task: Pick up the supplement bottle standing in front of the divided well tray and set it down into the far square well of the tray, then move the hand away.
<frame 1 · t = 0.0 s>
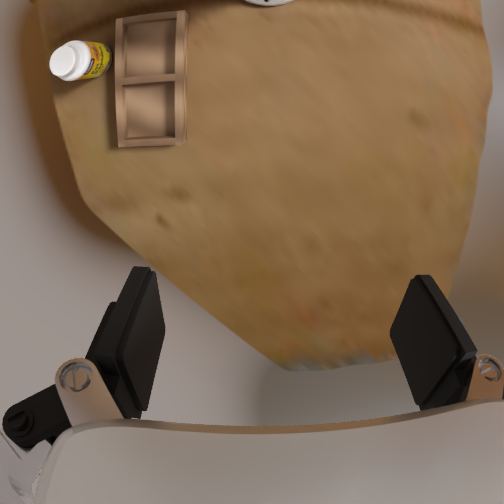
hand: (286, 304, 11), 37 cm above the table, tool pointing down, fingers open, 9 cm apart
supplement bottle: (97, 59, 36), on the table
divided well tray: (153, 78, 38), on the table
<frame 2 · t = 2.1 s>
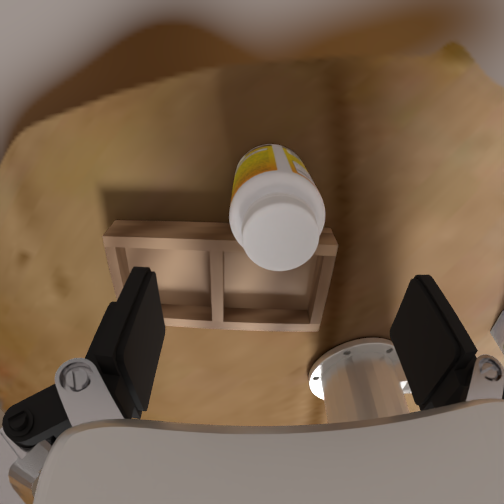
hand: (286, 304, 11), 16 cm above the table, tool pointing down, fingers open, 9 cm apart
supplement bottle: (270, 175, 25), on the table
divided well tray: (219, 269, 29), on the table
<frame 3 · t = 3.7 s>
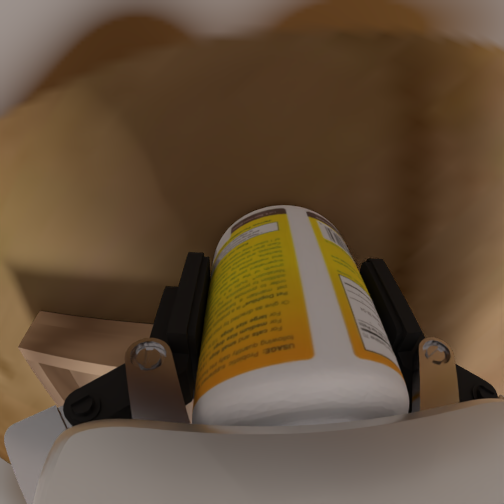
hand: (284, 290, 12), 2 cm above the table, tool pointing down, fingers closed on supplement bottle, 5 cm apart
supplement bottle: (280, 257, 14), on the table, touching gripper
divided well tray: (199, 379, 18), on the table
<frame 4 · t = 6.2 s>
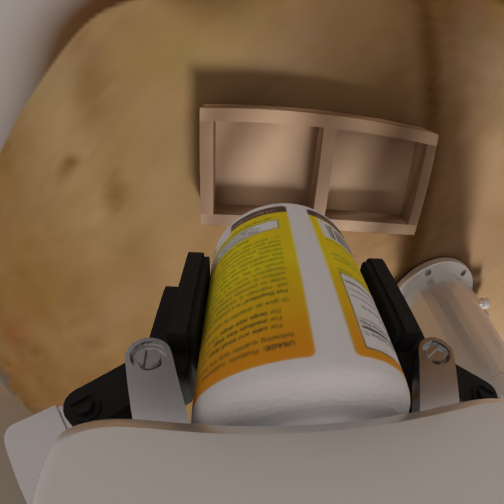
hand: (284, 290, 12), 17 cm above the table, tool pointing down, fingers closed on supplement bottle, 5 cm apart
supplement bottle: (280, 255, 14), point 15 cm above the table, touching gripper
divided well tray: (317, 164, 26), on the table
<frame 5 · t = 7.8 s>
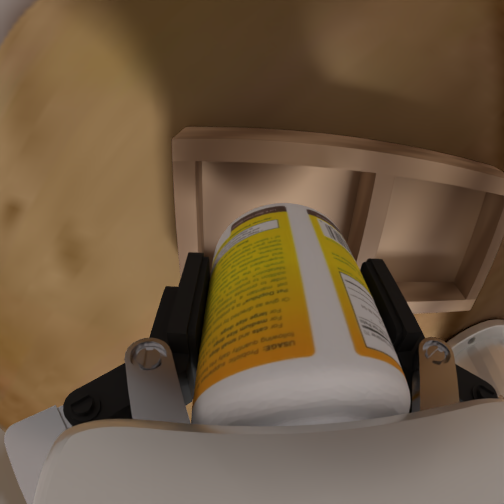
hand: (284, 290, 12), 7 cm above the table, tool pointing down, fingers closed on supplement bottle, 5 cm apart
supplement bottle: (280, 255, 14), point 5 cm above the table, touching gripper
divided well tray: (354, 218, 18), on the table
when the fingers open (4 cm above the table, at t = 8.8 s): supplement bottle drops 1 cm, resting on divided well tray.
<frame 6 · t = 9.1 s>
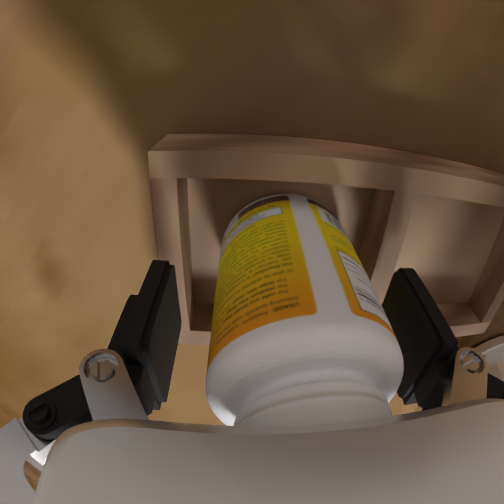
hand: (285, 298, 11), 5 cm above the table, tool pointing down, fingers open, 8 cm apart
supplement bottle: (283, 243, 15), point 1 cm above the table, touching divided well tray
divided well tray: (363, 237, 16), on the table
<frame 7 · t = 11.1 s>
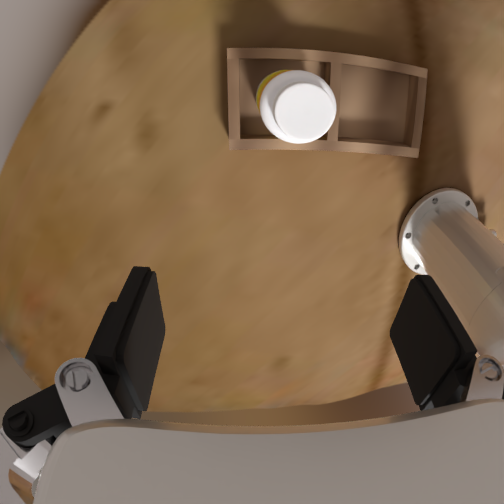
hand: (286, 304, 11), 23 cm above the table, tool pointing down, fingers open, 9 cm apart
supplement bottle: (285, 97, 27), point 1 cm above the table, touching divided well tray
divided well tray: (326, 98, 28), on the table
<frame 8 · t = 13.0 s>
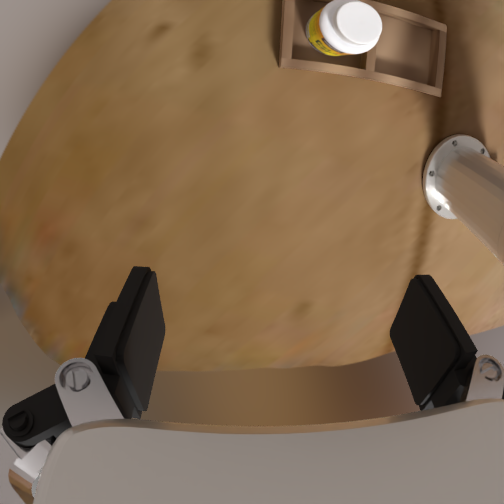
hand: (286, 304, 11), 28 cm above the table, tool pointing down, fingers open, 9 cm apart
supplement bottle: (329, 33, 28), point 1 cm above the table, touching divided well tray
divided well tray: (363, 40, 28), on the table
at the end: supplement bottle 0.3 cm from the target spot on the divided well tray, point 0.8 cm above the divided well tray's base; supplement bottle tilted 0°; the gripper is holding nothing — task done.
